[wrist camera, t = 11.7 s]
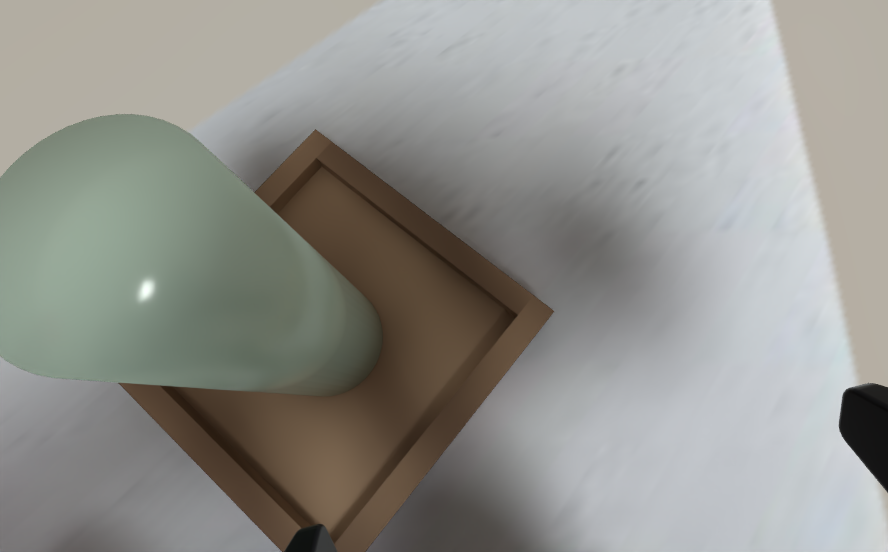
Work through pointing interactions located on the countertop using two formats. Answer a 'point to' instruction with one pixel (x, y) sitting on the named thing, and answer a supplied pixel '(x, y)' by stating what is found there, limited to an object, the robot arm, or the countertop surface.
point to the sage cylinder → (167, 271)
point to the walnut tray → (387, 386)
